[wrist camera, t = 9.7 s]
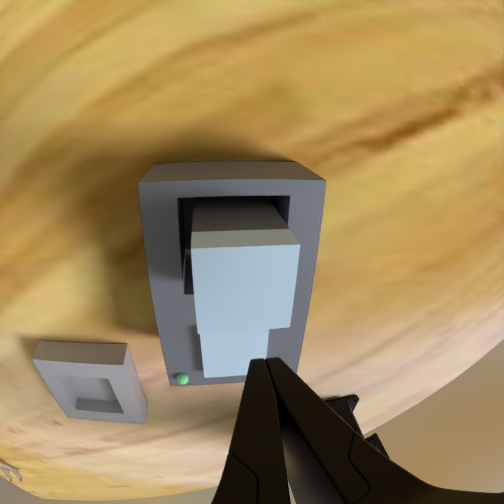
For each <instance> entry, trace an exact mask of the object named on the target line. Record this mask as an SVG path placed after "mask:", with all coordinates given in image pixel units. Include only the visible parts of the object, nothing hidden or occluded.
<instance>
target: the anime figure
mask: <svg viewBox="0 0 504 504" xmlns="http://www.w3.org/2000/svg"><path fill="white" fill-rule="evenodd" d="M3 467H4V468H3ZM0 470H2V471H3V472H4V473H5V474H6V475H7V476H8V477H9V478H10V482H12V477H11V475H10V470H11V471H12V472H13V473H14V474H15V475H17V476H18V477H19V479H20V482H22V475H21V474H20V473H19V471H18V469H17V468H15V467H11V466H9V465H7V464H5V463H3V462H2V461H0Z"/></svg>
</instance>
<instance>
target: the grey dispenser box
mask: <svg viewBox="0 0 504 504" xmlns="http://www.w3.org/2000/svg"><path fill="white" fill-rule="evenodd" d="M138 188H139V200H140V211H141V221H142V230H143V239H144V247H145V255H146V262H147V269H148V276H149V282H150V289H151V295H152V301H153V306H154V312H155V317H156V323H157V328H158V333H159V338H160V343H161V348H162V352H163V357H164V361H165V366H166V370H167V374H168V378H169V383H170V386H185V385H210V384H226V383H239V382H245V380H246V376H247V372H248V367H249V363H250V360H251V359H256V358H264V359H265V358H267V357H276V356H278V357H280V358H281V359H282V360H283V361H284V362H285V363H286V364H287V365H288V366H289V367H290V368H291V369H292V370H293V371H294V372H295V373H297V369H298V364H299V359H300V354H301V348H302V343H303V338H304V333H305V327H306V321H307V316H308V310H309V304H310V298H311V292H312V286H313V279H314V273H315V266H316V259H317V253H318V245H319V238H320V230H321V223H322V215H323V206H324V198H325V188H326V180H325V179H323V178H322V177H320V176H319V175H317V174H315V173H314V172H312V171H311V170H309V169H308V168H306V167H304V166H303V165H301V164H300V163H298V162H284V161H201V162H175V163H157V164H153V165H152V167H151V168H150V169H149V170H148V171H147V173H146V174H145V175H144V176H143V178H142V179H141V180H140V181H139V183H138ZM209 196H267V197H268V198H269V200H270V201H271V203H272V204H273V206H274V207H275V208H276V210H277V211H278V213H279V214H280V216H281V217H282V218H283V220H284V221H285V223H286V224H287V226H288V227H289V229H290V230H291V232H292V233H293V234H294V236H295V237H296V239H297V240H298V242H299V243H300V252H299V261H298V269H297V278H296V286H295V293H294V301H293V309H292V316H291V323H290V327H288V328H277V329H266V330H254V331H240V332H225V333H207V334H198V332H197V321H196V311H195V299H194V287H193V273H192V259H191V237H192V220H193V205H194V197H209Z"/></svg>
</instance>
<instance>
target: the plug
mask: <svg viewBox="0 0 504 504" xmlns="http://www.w3.org/2000/svg"><path fill="white" fill-rule="evenodd" d="M299 252H300V243H299V242H298V240H297V239H296V237H295V236H294V234H293V233H292V232H291V230H290V229H289V227H288V226H287V224H286V223H285V221H284V220H283V218H282V217H281V216H280V214H279V213H278V211H277V210H276V208H275V207H274V206H273V204H272V203H271V201H270V200H269V198H268V197H267V196H209V197H194V205H193V220H192V237H191V259H192V273H193V287H194V299H195V311H196V321H197V332H198V334H207V333H225V332H240V331H254V330H266V329H277V328H288V327H290V323H291V316H292V309H293V301H294V293H295V286H296V278H297V269H298V261H299Z"/></svg>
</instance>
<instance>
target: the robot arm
mask: <svg viewBox="0 0 504 504" xmlns="http://www.w3.org/2000/svg"><path fill="white" fill-rule="evenodd" d="M358 400H359V398H358V396H357V395H355V396H351V397H346V398H342V399H337V400H332V401H327V402H324V401H323V400H322V399H321V398H320V397H319V396H318V395H317V394H316V393H315V392H314V391H313V390H312V389H311V388H310V387H309V386H308V385H307V384H306V383H305V382H304V381H303V380H302V379H301V378H300V377H299V376H298V375H297V374H296V373H295V372H294V371H293V370H292V369H291V368H290V367H289V366H288V365H287V364H286V363H285V362H284V361H283V360H282V359H281V358H280V357H278V356H276V357H267V358H265V359H264V358H256V359H251V360H250V363H249V367H248V372H247V376H246V380H245V385H244V389H243V393H242V397H241V402H240V406H239V410H238V414H237V419H236V423H235V427H234V431H233V435H232V439H231V443H230V447H229V451H228V453H229V454H228V455H227V459H226V463H225V467H224V470H223V473H222V477H221V480H220V483H219V485H218V488H217V490H216V493H215V496H214V498H213V500H212V502H211V504H291V502H290V495H289V487H288V481H289V484H290V487H291V490H292V493H293V495H294V499H295V502H296V504H504V492H502V493H484V492H471V491H461V490H452V489H445V488H439V487H436V486H433V485H430V484H428V483H426V482H424V481H422V480H420V479H419V478H417V477H416V476H414V475H413V474H411V473H409V472H408V471H407V470H405V469H403V468H402V467H400V466H399V465H397V464H396V463H394V462H393V461H391V460H390V458H389V456H388V455H387V453H386V451H385V449H384V447H383V445H382V443H381V441H380V439H379V438H378V436H377V434H376V433H374V434H373V435H372V436H370V437H368V438H366V439H364V436H363V434H362V432H361V430H360V427H359V425H358V423H357V420H356V418H355V416H354V414H353V410H354V408H355V406H356V404H357V402H358ZM287 478H288V479H287Z"/></svg>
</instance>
